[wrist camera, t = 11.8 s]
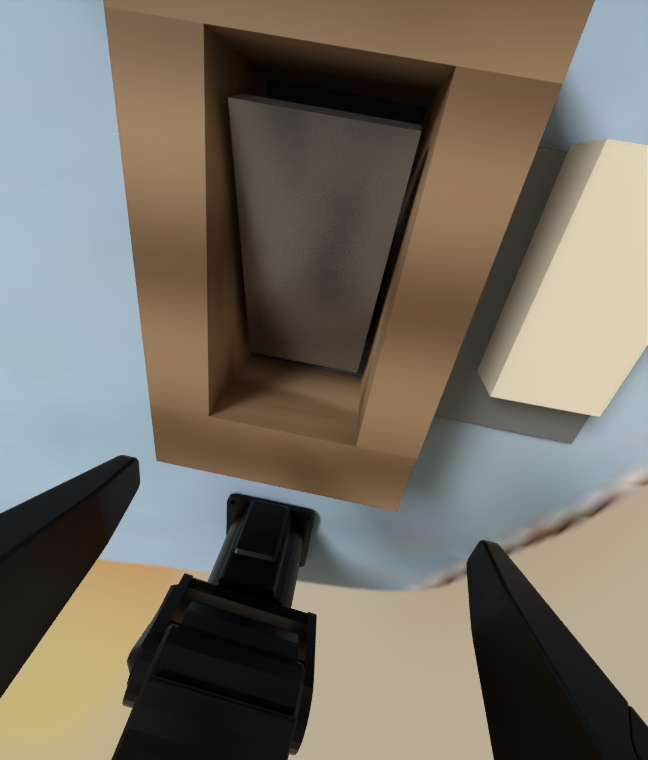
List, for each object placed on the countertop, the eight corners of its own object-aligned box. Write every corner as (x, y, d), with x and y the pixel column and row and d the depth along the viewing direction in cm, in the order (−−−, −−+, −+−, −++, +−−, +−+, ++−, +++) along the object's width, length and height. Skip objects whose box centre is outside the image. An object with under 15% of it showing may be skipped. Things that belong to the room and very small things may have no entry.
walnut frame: (392, 430, 22) (396, 511, 17) (208, 393, 22) (156, 460, 17) (530, 1, 12) (645, -131, 7) (202, -52, 13) (78, -213, 7)
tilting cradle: (358, 364, 19) (357, 372, 18) (253, 343, 19) (250, 351, 18) (421, 124, 10) (421, 131, 10) (235, 92, 11) (227, 97, 10)
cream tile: (573, 389, 18) (599, 417, 16) (477, 371, 19) (490, 396, 17) (705, 165, 13) (767, 163, 11) (570, 144, 14) (607, 138, 11)
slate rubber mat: (567, 437, 21) (571, 443, 20) (429, 410, 21) (430, 415, 20) (732, 183, 14) (744, 183, 14) (528, 147, 14) (533, 146, 14)
